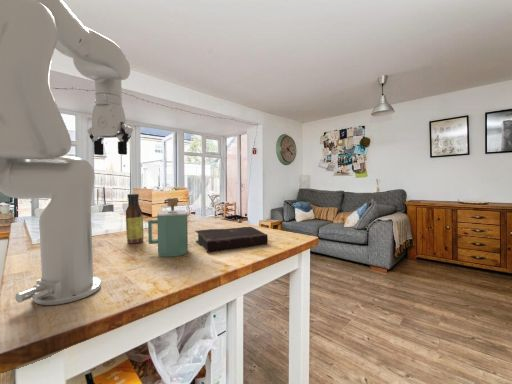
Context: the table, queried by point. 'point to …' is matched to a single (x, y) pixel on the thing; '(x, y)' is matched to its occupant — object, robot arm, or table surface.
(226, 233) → the diary
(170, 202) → the plunger
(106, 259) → the table surface
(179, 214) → the press carafe
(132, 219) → the sauce bottle
